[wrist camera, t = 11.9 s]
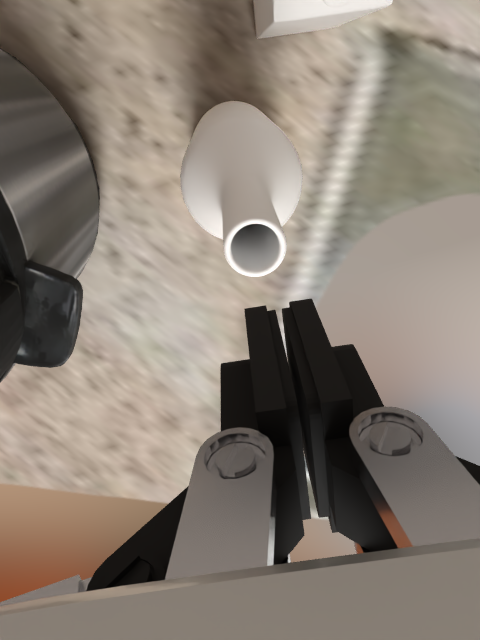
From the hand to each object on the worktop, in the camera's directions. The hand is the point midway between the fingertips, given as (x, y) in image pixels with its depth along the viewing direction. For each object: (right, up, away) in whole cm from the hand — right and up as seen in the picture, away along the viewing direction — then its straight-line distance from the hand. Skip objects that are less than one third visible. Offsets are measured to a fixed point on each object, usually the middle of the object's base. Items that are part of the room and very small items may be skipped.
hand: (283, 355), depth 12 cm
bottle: (-2, +18, +34) cm, 38 cm away
